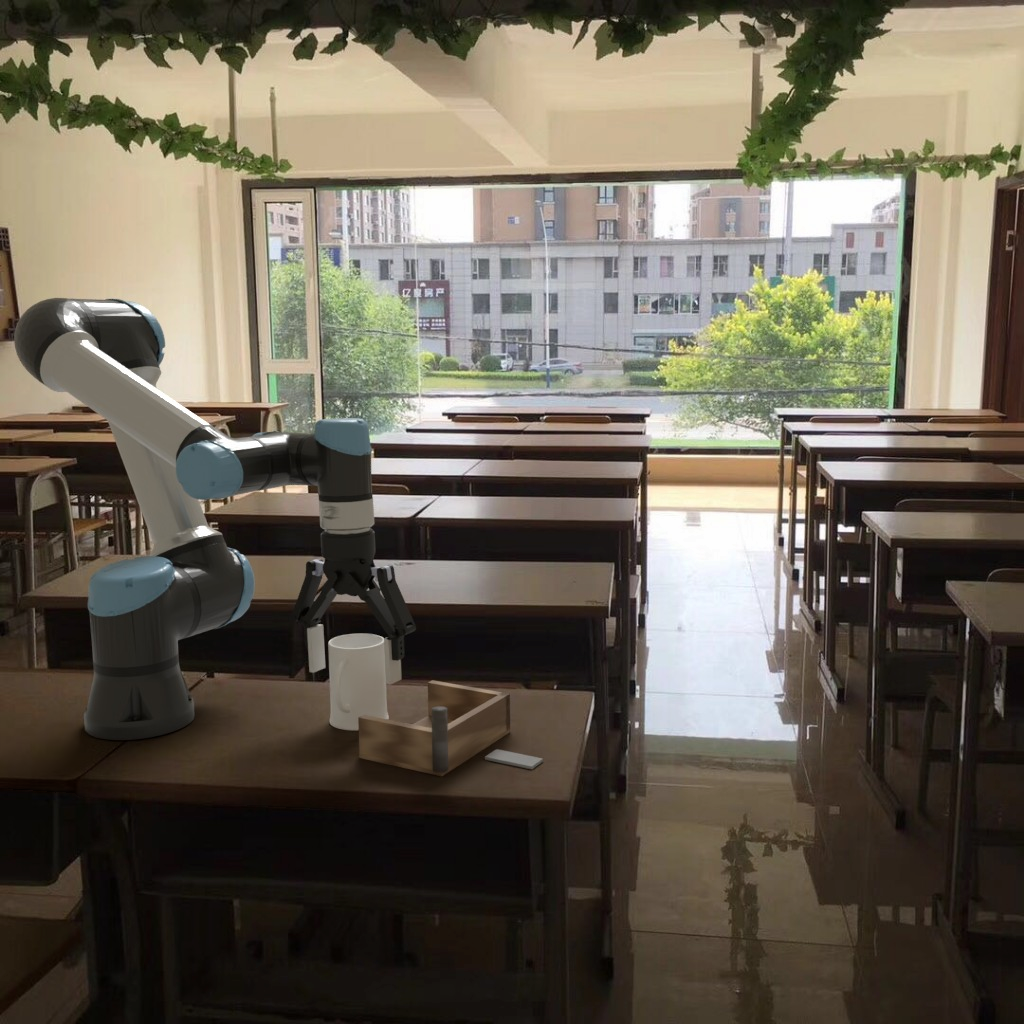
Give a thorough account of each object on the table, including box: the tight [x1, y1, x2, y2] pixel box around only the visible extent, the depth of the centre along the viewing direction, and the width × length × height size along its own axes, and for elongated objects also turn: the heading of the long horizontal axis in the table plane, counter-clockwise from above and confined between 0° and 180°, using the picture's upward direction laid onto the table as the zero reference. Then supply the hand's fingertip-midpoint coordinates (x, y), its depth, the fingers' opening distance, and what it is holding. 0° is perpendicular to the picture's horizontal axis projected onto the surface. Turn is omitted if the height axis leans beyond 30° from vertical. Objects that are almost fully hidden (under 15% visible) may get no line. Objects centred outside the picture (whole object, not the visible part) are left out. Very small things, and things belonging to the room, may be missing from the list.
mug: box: [327, 633, 390, 732], centre depth 154 cm, size 12×8×12 cm
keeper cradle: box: [358, 679, 511, 777], centre depth 146 cm, size 13×18×9 cm
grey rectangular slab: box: [484, 748, 544, 770], centre depth 141 cm, size 7×3×1 cm, turn 61°
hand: (354, 675), depth 154 cm, fingers open, 13 cm apart
